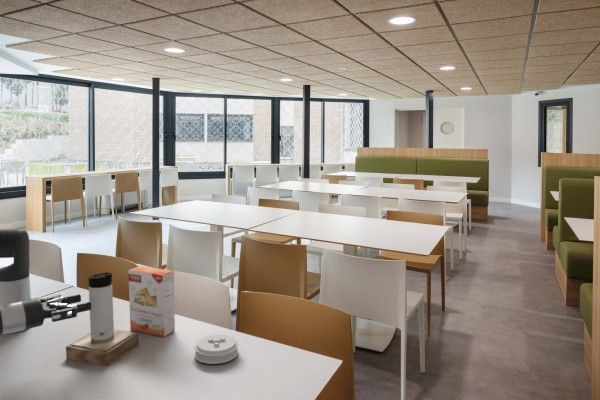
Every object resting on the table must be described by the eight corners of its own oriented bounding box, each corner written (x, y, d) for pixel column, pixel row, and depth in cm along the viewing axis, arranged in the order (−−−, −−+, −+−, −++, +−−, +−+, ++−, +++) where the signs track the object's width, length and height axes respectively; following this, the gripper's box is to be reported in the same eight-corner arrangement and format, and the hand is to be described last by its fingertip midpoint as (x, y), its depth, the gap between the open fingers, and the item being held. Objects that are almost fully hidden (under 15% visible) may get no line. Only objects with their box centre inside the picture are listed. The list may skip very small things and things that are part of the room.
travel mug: (106, 344, 128) (103, 277, 126) (86, 342, 130) (83, 275, 127) (119, 335, 134) (117, 271, 132) (99, 333, 136) (97, 269, 133)
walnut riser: (66, 358, 128) (65, 345, 128) (100, 338, 142) (100, 326, 141) (107, 365, 124) (106, 352, 124) (138, 344, 138) (138, 332, 137)
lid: (245, 350, 135) (245, 334, 135) (225, 370, 123) (225, 353, 123) (209, 343, 139) (208, 328, 139) (185, 362, 128) (185, 345, 127)
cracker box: (129, 330, 148) (127, 269, 145) (142, 324, 153) (140, 264, 150) (163, 338, 142) (162, 274, 140) (175, 331, 148) (174, 269, 145)
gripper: (26, 309, 111) (94, 295, 122) (13, 295, 121) (76, 283, 132) (28, 338, 112) (95, 321, 123) (14, 321, 122) (77, 307, 133)
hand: (85, 301), depth 128 cm, fingers open, 8 cm apart
